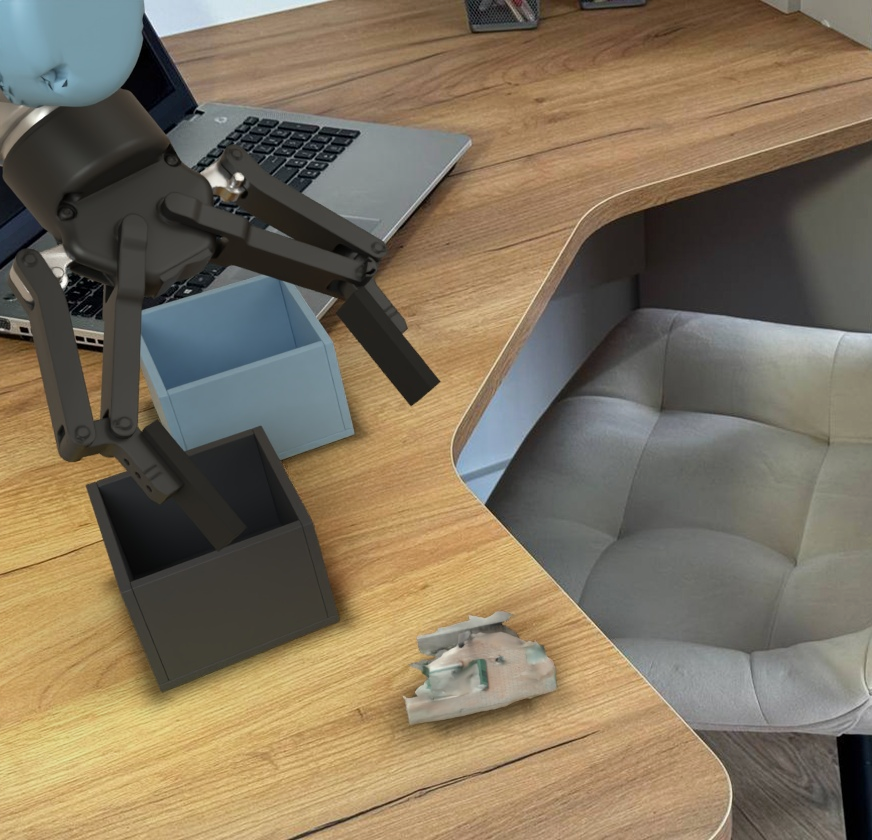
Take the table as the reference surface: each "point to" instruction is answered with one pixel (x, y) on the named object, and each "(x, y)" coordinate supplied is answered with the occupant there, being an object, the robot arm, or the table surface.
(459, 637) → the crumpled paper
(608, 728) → the table surface
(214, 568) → the waste bin
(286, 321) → the paper bin
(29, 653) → the table surface
